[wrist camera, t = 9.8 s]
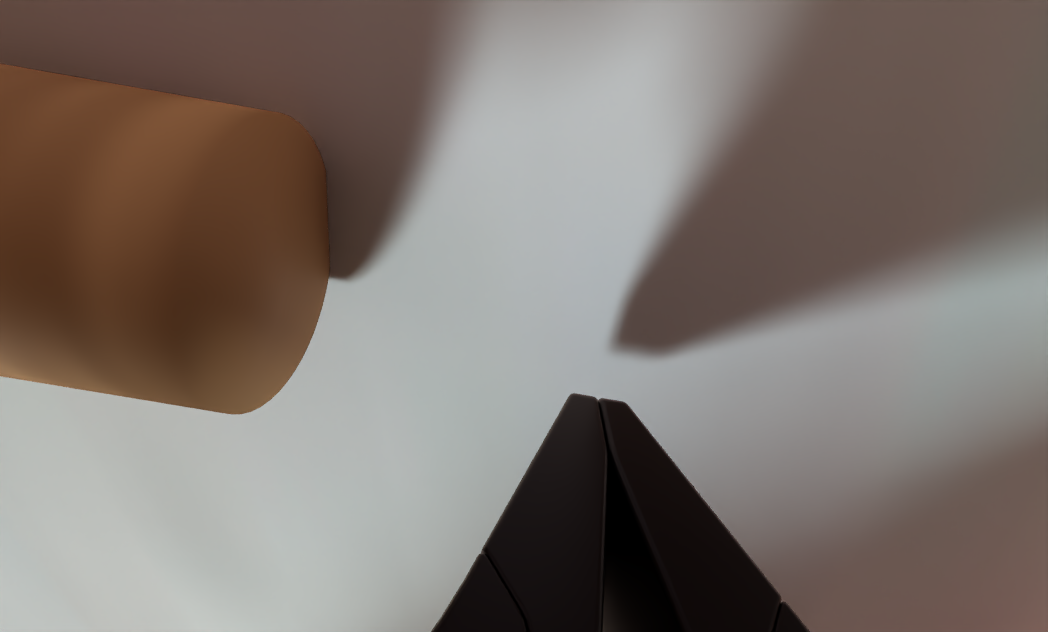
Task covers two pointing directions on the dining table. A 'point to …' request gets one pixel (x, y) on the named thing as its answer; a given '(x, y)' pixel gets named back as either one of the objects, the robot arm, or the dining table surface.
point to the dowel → (156, 242)
